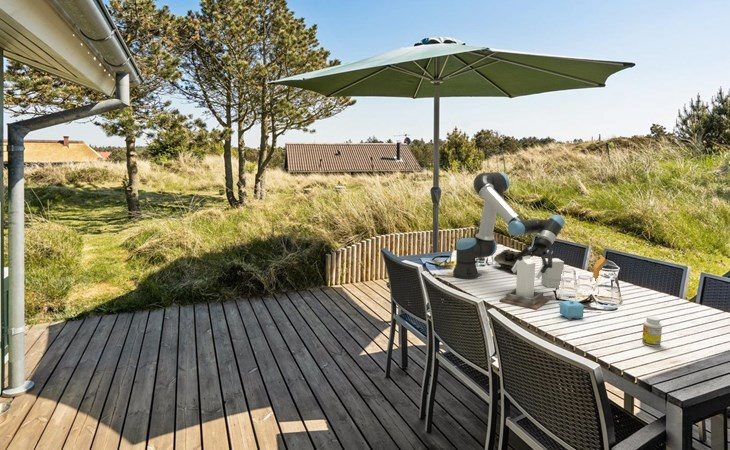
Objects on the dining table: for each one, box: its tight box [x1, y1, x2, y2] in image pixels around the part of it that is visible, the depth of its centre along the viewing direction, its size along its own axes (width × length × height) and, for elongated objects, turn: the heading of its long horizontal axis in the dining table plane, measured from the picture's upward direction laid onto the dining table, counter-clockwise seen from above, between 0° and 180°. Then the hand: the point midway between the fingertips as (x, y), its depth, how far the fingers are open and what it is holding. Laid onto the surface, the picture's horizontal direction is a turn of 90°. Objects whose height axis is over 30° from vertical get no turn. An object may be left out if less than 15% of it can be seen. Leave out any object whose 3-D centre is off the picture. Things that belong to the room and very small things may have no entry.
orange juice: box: [592, 255, 610, 281], centre depth 206 cm, size 8×9×20 cm
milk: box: [515, 256, 536, 298], centre depth 196 cm, size 6×6×22 cm
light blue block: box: [556, 300, 585, 320], centre depth 175 cm, size 12×6×8 cm, turn 96°
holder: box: [499, 288, 550, 311], centre depth 197 cm, size 18×18×4 cm
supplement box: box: [540, 257, 565, 288], centre depth 224 cm, size 9×9×15 cm
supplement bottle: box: [641, 315, 663, 348], centre depth 147 cm, size 6×6×10 cm
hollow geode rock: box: [493, 248, 521, 273], centre depth 258 cm, size 28×13×15 cm
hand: (524, 274), depth 195 cm, fingers open, 13 cm apart
